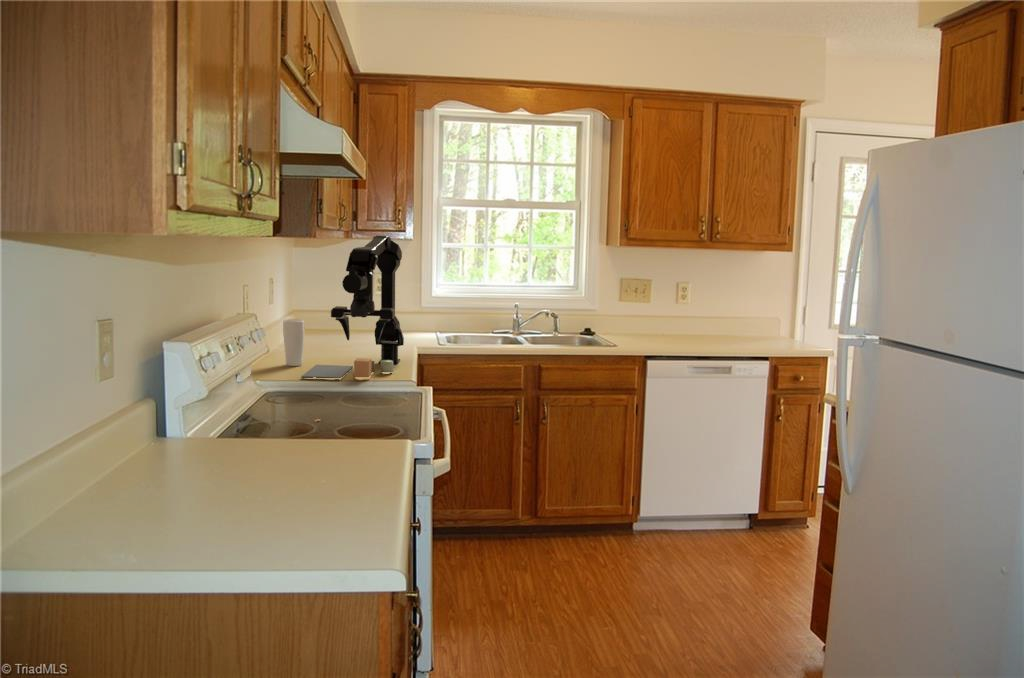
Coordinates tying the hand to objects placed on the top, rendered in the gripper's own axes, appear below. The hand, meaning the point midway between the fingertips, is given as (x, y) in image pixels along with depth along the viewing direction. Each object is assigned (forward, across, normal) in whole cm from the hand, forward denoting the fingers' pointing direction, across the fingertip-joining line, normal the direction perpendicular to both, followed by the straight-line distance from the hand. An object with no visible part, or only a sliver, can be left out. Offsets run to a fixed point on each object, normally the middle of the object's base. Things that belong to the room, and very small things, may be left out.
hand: (363, 340), depth 243 cm
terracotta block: (+12, 0, 0) cm, 12 cm away
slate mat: (+12, -12, +5) cm, 18 cm away
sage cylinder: (+12, +6, +9) cm, 16 cm away
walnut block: (+12, 0, +7) cm, 14 cm away
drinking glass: (+12, -26, +17) cm, 33 cm away
